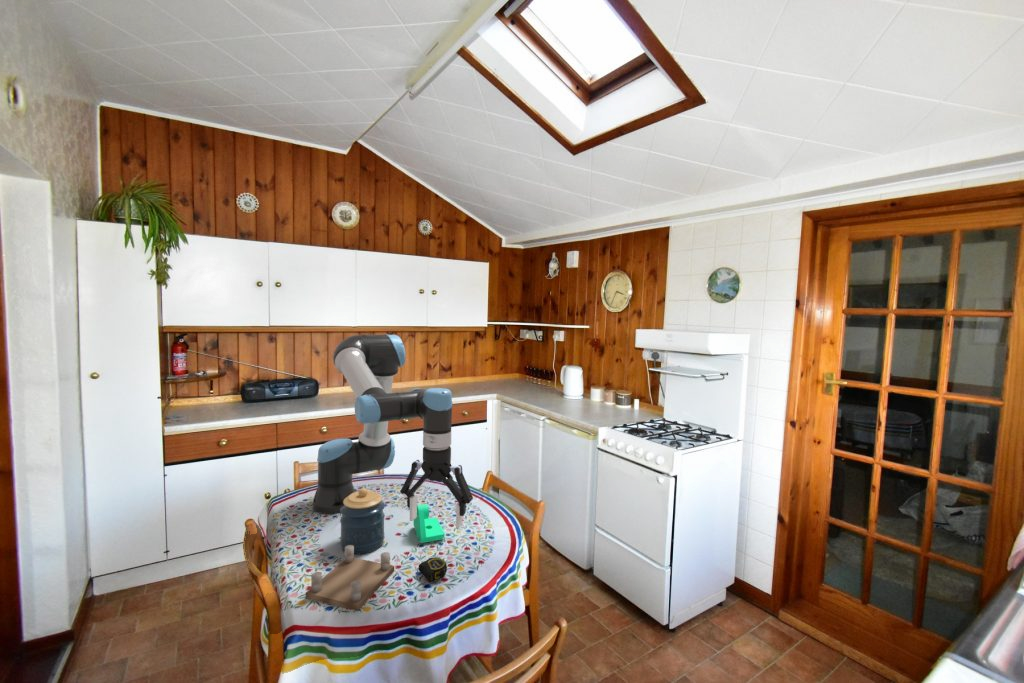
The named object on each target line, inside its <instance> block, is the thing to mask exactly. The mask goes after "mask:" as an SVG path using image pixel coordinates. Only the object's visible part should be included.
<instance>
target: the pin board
mask: <svg viewBox="0 0 1024 683" xmlns="http://www.w3.org/2000/svg"><path fill="white" fill-rule="evenodd" d="M390 560H391V555H390V552H388V551H384V552H381V554H380V562H377V561H371V560H367V559H363V558H356V557H355V554H354V546H353V545H348V546H346V547H345V552H344V559H343V560H342V561H341V562H340V563H338V564H337V565H336V566H335V567H333V569H331V570H330V571H329V572H328V573H327V574H325V575H324V576H323V574H322V572H320V571H316V572H313V573H312V574H311V576H310V577H311V579H310V580H311V583H310V585H311V587H310V588H309V589H308V590H307V591H306V592H305V599H306V600H311V601H314V602H319V603H323V604H326V603H327V605H331V606H336V607H339V608H344V609H349V610H352V611H356V612H358V611H359V610H360V609H361V608H362V607H363V606H364V605H365V604H366V602H368V601H369V599H370V598H371V597H372V596H373V595H374V594H375V593H376V592H377V591H378V590H379V588H381V587H382V585H383V584H384V583H385V582H386V581H387V580H388V579H389V578H390V577H391V575H392V574H393V573H394V572H395V565H391V561H390Z"/></svg>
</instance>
